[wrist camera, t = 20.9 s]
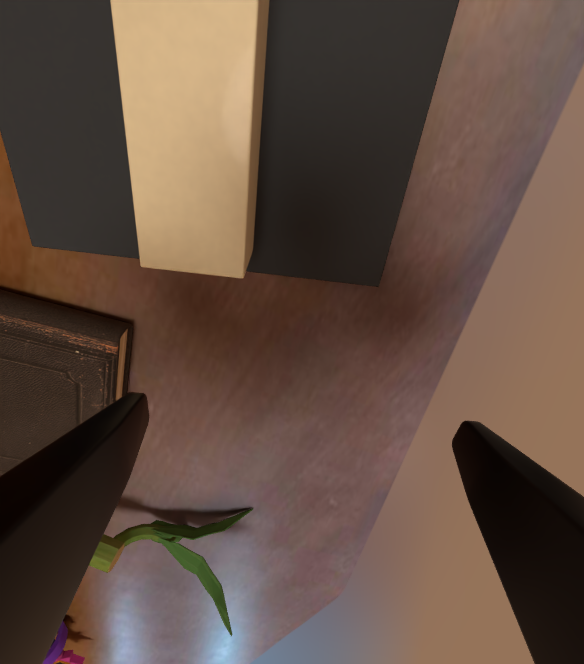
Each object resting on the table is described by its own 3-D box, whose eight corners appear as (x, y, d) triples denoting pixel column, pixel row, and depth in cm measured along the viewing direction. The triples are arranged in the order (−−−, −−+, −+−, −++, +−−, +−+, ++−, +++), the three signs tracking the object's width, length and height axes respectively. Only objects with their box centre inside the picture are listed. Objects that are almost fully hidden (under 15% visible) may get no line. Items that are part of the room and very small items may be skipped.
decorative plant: (-129, 452, 23) (247, 607, 23) (-14, 396, 31) (268, 513, 31) (-125, 509, 25) (222, 653, 25) (-17, 444, 33) (248, 554, 33)
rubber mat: (465, -40, 13) (473, -47, 12) (376, 283, 20) (379, 287, 19) (-66, -147, 11) (-82, -161, 11) (39, 243, 18) (31, 246, 18)
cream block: (266, -157, 8) (243, 279, 14) (273, -58, 12) (252, 251, 18) (86, -196, 8) (140, 267, 14) (152, -82, 12) (172, 241, 18)
